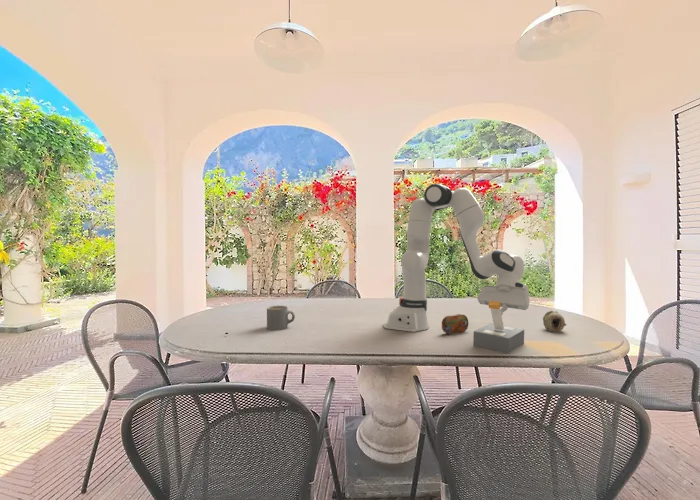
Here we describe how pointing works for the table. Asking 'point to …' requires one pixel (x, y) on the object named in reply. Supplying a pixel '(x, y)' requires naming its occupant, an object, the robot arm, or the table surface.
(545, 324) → the beige hollow lumpy pot
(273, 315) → the coffee mug
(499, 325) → the breaker lever
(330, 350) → the table surface
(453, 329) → the tin
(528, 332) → the table surface
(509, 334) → the switch box
